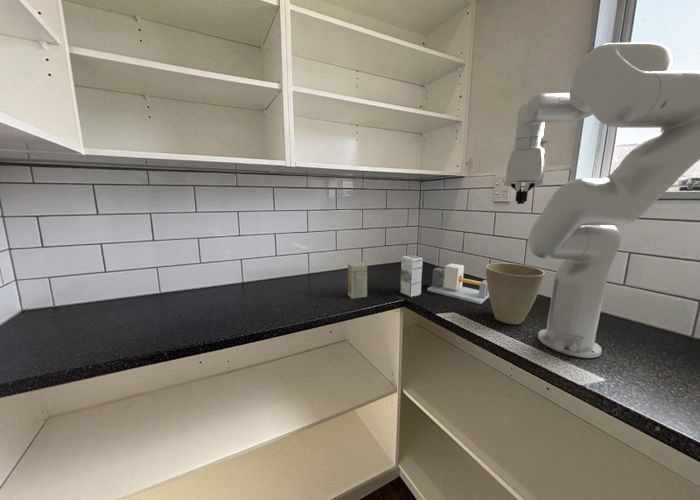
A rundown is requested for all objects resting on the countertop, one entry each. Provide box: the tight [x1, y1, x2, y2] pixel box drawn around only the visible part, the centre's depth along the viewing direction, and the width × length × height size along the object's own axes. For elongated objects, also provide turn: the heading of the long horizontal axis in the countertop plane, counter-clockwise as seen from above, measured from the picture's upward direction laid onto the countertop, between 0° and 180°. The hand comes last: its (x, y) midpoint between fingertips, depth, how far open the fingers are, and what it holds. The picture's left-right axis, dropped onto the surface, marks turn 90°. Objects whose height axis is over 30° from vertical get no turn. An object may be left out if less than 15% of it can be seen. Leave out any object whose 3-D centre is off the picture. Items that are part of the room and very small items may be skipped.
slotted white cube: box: [444, 262, 465, 290], centre depth 107 cm, size 6×5×8 cm
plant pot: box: [485, 262, 546, 325], centre depth 82 cm, size 15×15×16 cm
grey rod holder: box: [426, 267, 489, 305], centre depth 105 cm, size 12×22×8 cm, turn 48°
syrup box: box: [399, 254, 424, 298], centre depth 103 cm, size 6×6×14 cm
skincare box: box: [347, 262, 368, 300], centre depth 101 cm, size 6×4×12 cm
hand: (520, 203), depth 91 cm, fingers closed
